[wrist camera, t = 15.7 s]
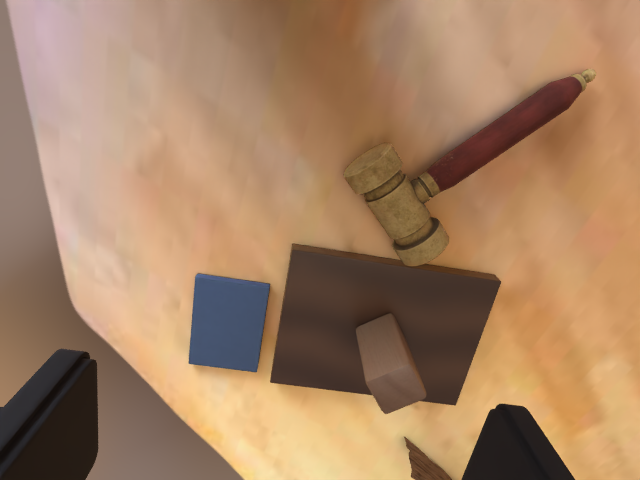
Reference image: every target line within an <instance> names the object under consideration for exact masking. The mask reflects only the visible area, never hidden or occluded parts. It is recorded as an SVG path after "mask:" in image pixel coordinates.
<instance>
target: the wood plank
mask: <svg viewBox="0 0 640 480" xmlns="http://www.w3.org/2000/svg"><path fill="white" fill-rule="evenodd" d="M404 438H405V437H404ZM405 440H406V443H407V444H406V446H407V448H408V449H409V450H410V452H409V459H410V463H411V468H412V473H411V477H412V478H413V479H415V480H452V479H451V478H450V477H449V476H448V475H447V474H446V473H445V472H444V471H443V470H442V469H441V468H440V467H439V466H437V465H436V464H435V463H433V462H432V461H431V460H430V459H429V458H428V457H427V456H426V455H425V454H424V453H423V452H422V451H421V450H419V449H418V447H416V446H415V445H414V444H413V443H411V442H410V441H409V440H408V439H407V438H405Z"/></svg>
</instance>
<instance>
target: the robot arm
mask: <svg viewBox="0 0 640 480" xmlns="http://www.w3.org/2000/svg"><path fill="white" fill-rule="evenodd" d="M97 406H98V404H97V363H96V360H92V359H90V356H89V353H87V352H83V351H75V350H67V349H59V350H57V351H56V352H55V353H54V354H53V355H52V356H51V357H50V358H49V359H48V360H47V361H46V363H44V365H43V366H42V367H41V368H40V369H39V370H38V371H37V372H36V373H35V374H34V375H33V376H32V377H31V379H29V381H28V382H27V383H26V384H25V385H24V386H23V387H22V388H21V389H20V390H19V391H18V392H17V393H16V395H14V397H13V398H12V399H11V400H10V401H9V402H8V403H7V404H6V405H5V406H4V407H0V480H85V479H86V478H87V476H88V474H89V472H90V470H91V469H92V467H93V464H94V463H95V460H96V457H97V453H98V407H97ZM462 480H575V479H574V477H573V476H572V474H571V473H570V471H569V470H568V468H567V467H566V466H565V464H564V463H563V461H562V460H561V458H560V457H559V455H558V454H557V452H556V451H555V449H554V448H553V446H552V445H551V443H550V442H549V440H548V439H547V437H546V436H545V434H544V433H543V431H542V430H541V428H540V427H539V425H538V424H537V423H536V421H535V420H534V418H533V417H532V415H531V414H530V412H529V411H528V410H527V409H526V408H525V407H523V406H516V405H508V404H499V405H497V406H496V408H495V409H492V410H490V412H489V414H488V416H487V418H486V421H485V423H484V426H483V428H482V431H481V433H480V436H479V438H478V440H477V443H476V445H475V448H474V450H473V453H472V455H471V458H470V460H469V463H468V465H467V467H466V470H465V472H464V475H463V477H462Z"/></svg>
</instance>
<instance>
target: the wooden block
mask: <svg viewBox="0 0 640 480" xmlns="http://www.w3.org/2000/svg"><path fill="white" fill-rule="evenodd" d="M356 335H357V340H358V345H359V350H360V356H361V361H362V366H363V371H364V376H365V381H366V384H367V386H368V388H369V389H370V391H371V393H372V395H373V396H374V398H375V400H376V402H377V403H378V405H379V407H380V408H381V410H382V411H383V412H384V413H385V414H388V413H391V412H393V411H395V410H398V409H400V408H403V407H405V406H408V405H410V404H413V403H415V402H418V401H420V400H423V399H424V398H426V390H425V388H424V385H423V382H422V380H421V377H420V375H419V372H418V369H417V367H416V364H415V362H414V359H413V356H412V354H411V351H410V349H409V346H408V343H407V341H406V339H405V337H404V335H403V333H402V331H401V329H400V327H399V325H398V323H397V321H396V319H395V317H394V315H392V314H391V313H389V314H386V315H384V316H382V317H379V318H377V319H375V320H372V321H370V322H368V323H366V324H363V325H361V326H359V327H357V328H356Z"/></svg>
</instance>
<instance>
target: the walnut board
mask: <svg viewBox="0 0 640 480" xmlns="http://www.w3.org/2000/svg"><path fill="white" fill-rule="evenodd" d="M500 284H501V281H500V280H499V279H498V278H497V277H496V276H495V275H492V274H486V273H479V272H473V271H466V270H460V269H453V268H447V267H440V266H434V265H427V264H422V265H418V266H407V265H405V264H404V263H403V262H402V261H401V260H395V259H388V258H382V257H375V256H369V255H362V254H356V253H349V252H343V251H336V250H330V249H323V248H317V247H310V246H304V245H297V244H292V250H291V256H290V262H289V268H288V275H287V281H286V287H285V293H284V299H283V305H282V311H281V317H280V323H279V329H278V335H277V341H276V347H275V354H274V360H273V366H272V372H271V379H270V382H271V383H278V384H286V385H294V386H302V387H310V388H319V389H327V390H335V391H343V392H351V393H359V394H367V395H372V393H371V391H370V389H369V388H368V386H367V384H366V381H365V376H364V371H363V366H362V361H361V356H360V350H359V345H358V340H357V335H356V328H357V327H359V326H361V325H363V324H366V323H368V322H370V321H372V320H375V319H377V318H379V317H382V316H384V315H386V314H389V313H391V314H392V315H394V317H395V319H396V321H397V323H398V325H399V327H400V329H401V331H402V333H403V335H404V337H405V339H406V341H407V343H408V346H409V349H410V351H411V354H412V356H413V359H414V362H415V364H416V367H417V369H418V372H419V375H420V377H421V380H422V382H423V385H424V388H425V390H426V398H424V399H423V400H420V401H424V402H432V403H440V404H449V405H456V403H457V400H458V398H459V395H460V392H461V390H462V387H463V384H464V381H465V379H466V376H467V373H468V371H469V368H470V365H471V362H472V360H473V357H474V354H475V352H476V349H477V346H478V344H479V341H480V338H481V335H482V333H483V330H484V327H485V325H486V322H487V319H488V316H489V314H490V311H491V308H492V306H493V303H494V300H495V297H496V295H497V292H498V289H499V287H500Z"/></svg>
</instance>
